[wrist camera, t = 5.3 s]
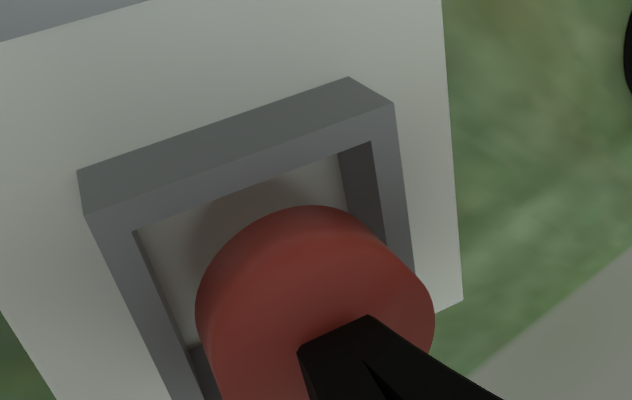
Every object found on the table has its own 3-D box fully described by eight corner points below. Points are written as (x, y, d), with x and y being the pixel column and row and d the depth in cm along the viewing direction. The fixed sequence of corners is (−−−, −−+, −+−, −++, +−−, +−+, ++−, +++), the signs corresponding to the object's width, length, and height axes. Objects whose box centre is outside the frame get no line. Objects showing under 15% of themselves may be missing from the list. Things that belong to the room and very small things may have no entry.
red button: (226, 404, 12) (256, 482, 11) (165, 255, 10) (191, 323, 9) (392, 325, 13) (442, 385, 12) (367, 174, 11) (425, 223, 10)
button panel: (92, 391, 18) (111, 542, 13) (-476, -588, 8) (-1062, -1142, 4) (411, 250, 20) (506, 340, 16) (301, -604, 10) (477, -928, 6)
